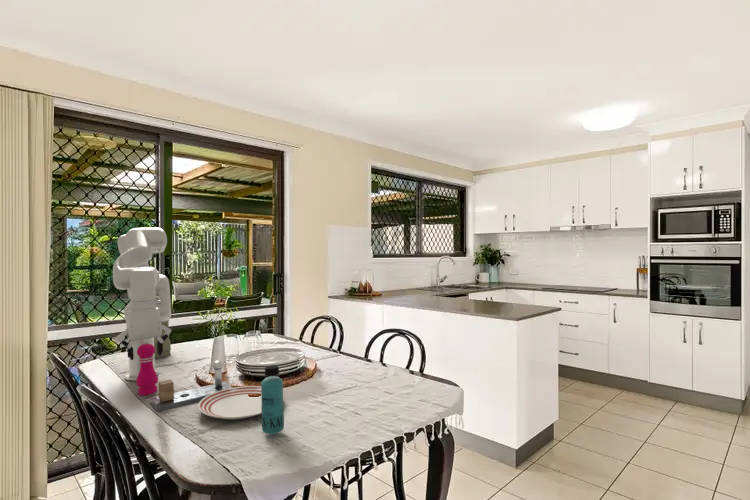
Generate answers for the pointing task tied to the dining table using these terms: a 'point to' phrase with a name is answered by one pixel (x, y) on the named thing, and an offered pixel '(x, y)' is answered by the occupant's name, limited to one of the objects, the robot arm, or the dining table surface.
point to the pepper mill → (146, 370)
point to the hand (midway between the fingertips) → (145, 356)
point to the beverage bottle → (272, 401)
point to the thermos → (165, 344)
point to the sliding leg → (166, 390)
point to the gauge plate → (194, 392)
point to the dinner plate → (232, 403)
